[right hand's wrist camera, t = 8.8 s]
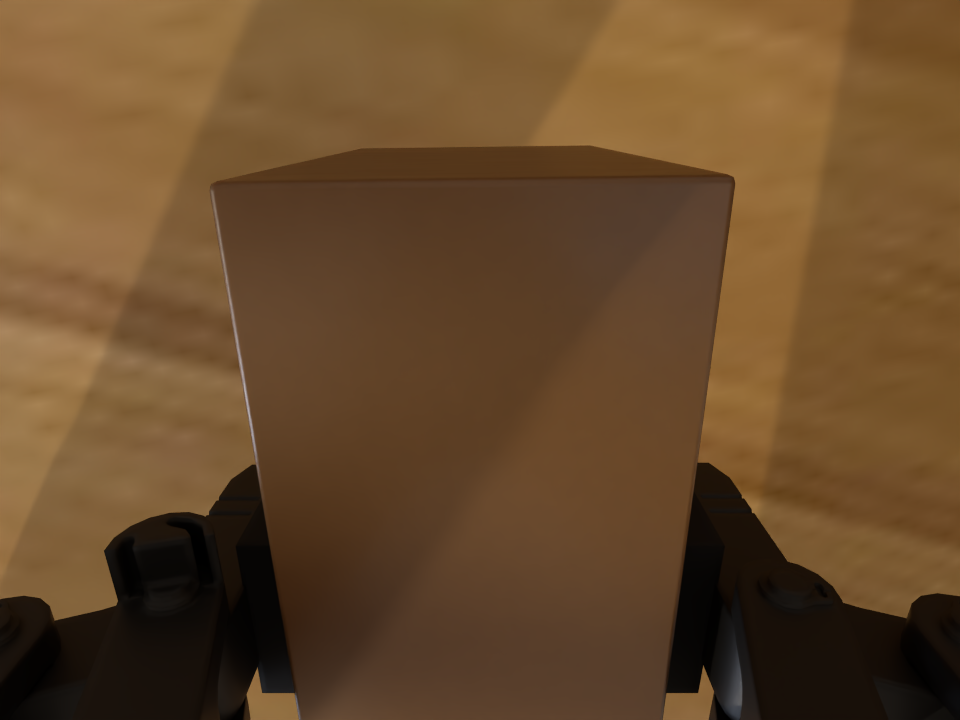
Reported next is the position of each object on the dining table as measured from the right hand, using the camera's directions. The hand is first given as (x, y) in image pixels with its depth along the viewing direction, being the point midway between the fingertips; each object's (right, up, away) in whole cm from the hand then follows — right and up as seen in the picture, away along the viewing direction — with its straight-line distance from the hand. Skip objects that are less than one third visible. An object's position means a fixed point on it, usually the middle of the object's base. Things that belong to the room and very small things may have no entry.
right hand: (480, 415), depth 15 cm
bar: (0, -25, +10) cm, 27 cm away
